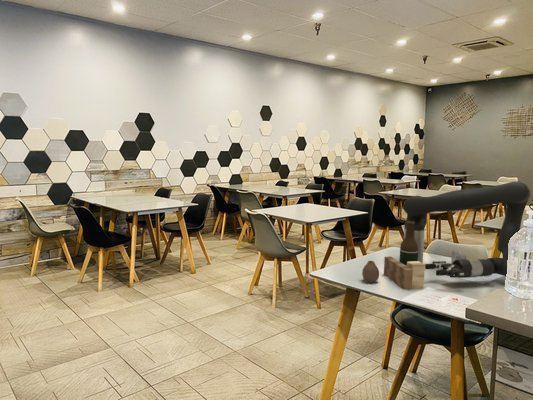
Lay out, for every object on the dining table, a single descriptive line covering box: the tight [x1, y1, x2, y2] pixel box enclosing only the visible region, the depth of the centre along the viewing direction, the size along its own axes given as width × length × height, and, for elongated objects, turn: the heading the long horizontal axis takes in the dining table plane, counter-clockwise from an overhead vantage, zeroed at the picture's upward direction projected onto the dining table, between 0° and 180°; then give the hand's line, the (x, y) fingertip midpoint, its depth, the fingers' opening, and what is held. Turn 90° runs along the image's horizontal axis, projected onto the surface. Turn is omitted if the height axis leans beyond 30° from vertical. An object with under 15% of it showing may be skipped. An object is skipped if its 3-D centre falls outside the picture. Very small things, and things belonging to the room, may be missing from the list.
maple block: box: [407, 261, 426, 290], centre depth 166 cm, size 5×5×10 cm
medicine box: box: [450, 250, 467, 264], centre depth 187 cm, size 8×4×9 cm, turn 168°
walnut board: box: [383, 256, 413, 290], centre depth 173 cm, size 20×3×8 cm, turn 8°
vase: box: [361, 260, 380, 284], centre depth 172 cm, size 7×7×9 cm
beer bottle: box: [398, 221, 418, 266], centre depth 182 cm, size 8×8×24 cm
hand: (430, 269), depth 166 cm, fingers open, 8 cm apart
